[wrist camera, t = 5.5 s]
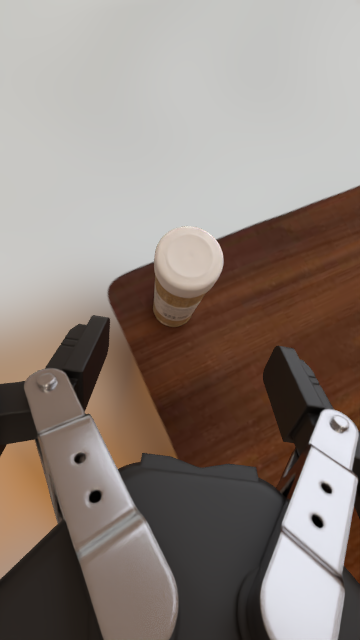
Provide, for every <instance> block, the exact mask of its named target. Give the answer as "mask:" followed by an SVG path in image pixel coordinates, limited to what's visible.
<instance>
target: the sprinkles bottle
mask: <svg viewBox="0 0 360 640" xmlns="http://www.w3.org/2000/svg"><path fill="white" fill-rule="evenodd" d="M222 268H223V253H222V250H221V247H220V245H219V244H218V242H217V241H216V239H215V238H214V237H213V236H212V235H211V234H209V233H208V232H206V231H204V230H202V229H200V228H197V227H190V226H186V227H185V226H184V227H178V228H175V229H173V230H171V231H169V232H168V233H166V234H165V235H164V236H163V237H162V238H161V240H160V241H159V243H158V245H157V247H156V251H155V259H154V270H155V274H156V278H155V292H154V304H153V311H154V314H155V316H156V318H157V319H158V320H159V321H160V322H161V323H162V324H164V325H166V326H170V327H178V326H181V325H183V324H185V323H186V322H187V321H188V320H189V319H190V318H191V315H192V313H193V311H194V310H195V309H196V307H197V306H198V304H199V303H200V301H201V299H202V298H203V296H204V295H205V293H206V292H207V291H209V290H210V289H211V288H212V286H213V285H214V284H215V282H216V281H217V279H218V277H219V275H220V273H221V271H222Z"/></svg>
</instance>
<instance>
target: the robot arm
mask: <svg viewBox="0 0 360 640" xmlns="http://www.w3.org/2000/svg"><path fill="white" fill-rule="evenodd" d="M109 329H110V319H109V318H107V317H101V316H95V315H93V316H92V317H91V319H90V320H89V322H88V324H87V325H82V324H78V325H77V326H75V327H74V328H72V329H71V330H70V331H69V332H68V334H67V335H66V337H65V339H64V340H63V342H62V343H61V345H60V346H59V348H58V349H57V351H56V353H55V354H54V355H53V357H52V358H51V360H50V361H49V363H48V365H47V366H46V368H45V369H42V370H39V371H37V372H35V373H33V374H32V375H30V376H29V377H28V378H27V380H26V381H22V382H15V383H6V384H0V456H1V454H2V452H3V450H4V449H5V447H6V445H7V444H10V443H16V442H22V441H28V440H34V439H35V442H36V446H37V449H38V453H39V456H40V459H41V463H42V467H43V470H44V474H45V477H46V481H47V485H48V488H49V493H50V497H51V501H52V505H53V508H54V512H55V515H56V519H57V522H58V524H57V525H56V526H55V527H54V528H53V529H52V530H51V531H50V532H49V533H48V534H47V535H46V536H45V537H44V538H43V539H42V540H41V541H40V542H39V543H38V544H37V545H36V546H35V547H34V548H33V549H32V550H31V551H29V553H27V554H26V555H25V556H24V557H23V558H22V559H21V560H20V561H19V562H18V563H17V564H16V565H15V566H14V567H13V568H12V569H11V570H10V571H9V572H8V573H7V574H6V575H5V576H3V577H2V578H1V579H0V640H360V584H359V583H358V582H357V581H356V579H355V578H354V577H353V576H352V575H351V574H350V572H349V571H348V570H347V569H346V568H345V566H344V559H345V553H346V547H347V541H348V536H349V530H350V524H351V518H352V513H353V507H354V506H355V509H356V511H357V513H358V516H359V518H360V432H359V431H358V429H357V427H356V425H355V424H354V423H353V422H352V420H350V419H349V418H348V417H347V416H346V415H344V414H343V413H341V412H339V411H336V410H334V409H333V407H332V405H331V404H330V402H329V400H328V398H327V396H326V395H325V393H324V391H323V389H322V388H321V386H319V382H318V380H317V379H316V378H315V375H314V373H313V372H312V370H311V368H310V367H309V366H308V365H307V364H306V363H305V362H304V361H303V360H300V359H299V357H298V355H297V353H296V352H295V350H294V349H293V348H288V347H282V346H276V347H275V348H274V350H273V352H272V354H271V356H270V358H269V360H268V362H267V364H266V366H265V369H264V372H263V381H264V384H265V387H266V390H267V393H268V396H269V399H270V402H271V406H272V409H273V412H274V415H275V418H276V421H277V424H278V427H279V430H280V433H281V436H282V439H283V442H290V443H294V444H295V449H294V450H293V452H292V454H291V456H290V458H289V461H288V463H287V465H286V467H285V469H284V472H283V474H282V476H281V478H280V481H279V483H278V485H277V487H276V488H275V487H274V486H272V485H271V484H269V483H268V482H266V481H264V480H262V479H261V478H258V475H257V470H256V467H250V466H242V465H234V464H224V465H218V466H211V467H205V468H199V467H196V466H194V465H191V464H188V463H186V462H183V461H181V460H178V459H176V458H173V457H170V456H163V455H155V454H147V453H142V458H141V462H138V463H133V464H129V465H126V466H124V467H121V468H119V469H117V467H116V465H115V463H114V461H113V459H112V457H111V455H110V453H109V451H108V449H107V447H106V444H105V443H104V440H103V438H102V436H101V434H100V432H99V430H98V428H97V426H96V424H95V422H94V420H93V418H92V416H91V415H90V414H85V409H86V407H87V404H88V402H89V399H90V397H91V394H92V392H93V389H94V387H95V384H96V381H97V379H98V376H99V374H100V371H101V369H102V366H103V364H104V361H105V359H106V356H107V352H108V347H109Z"/></svg>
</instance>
